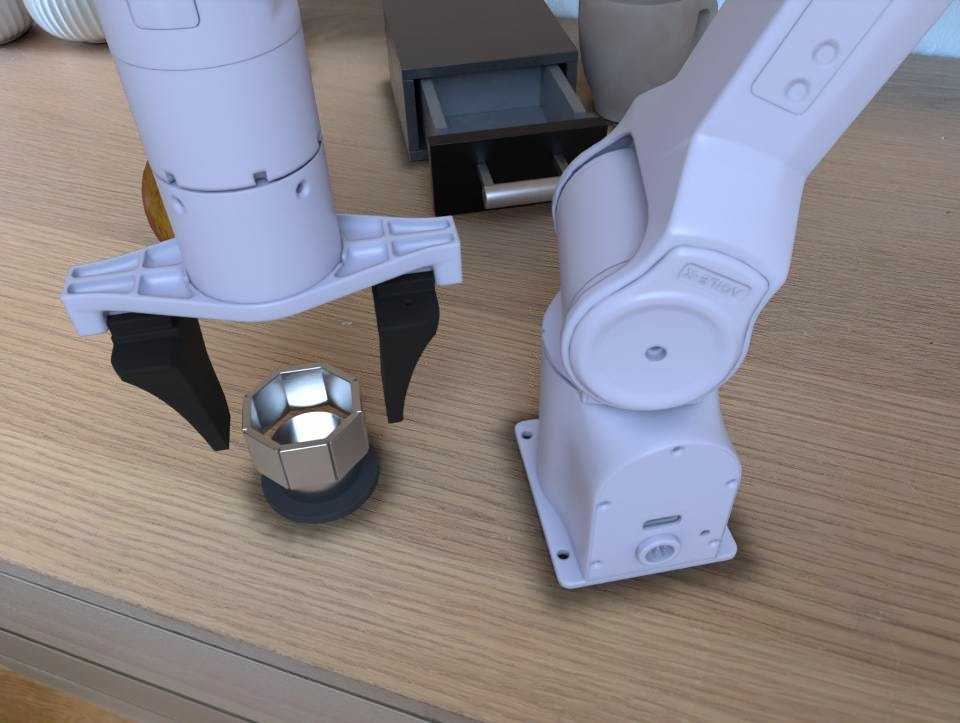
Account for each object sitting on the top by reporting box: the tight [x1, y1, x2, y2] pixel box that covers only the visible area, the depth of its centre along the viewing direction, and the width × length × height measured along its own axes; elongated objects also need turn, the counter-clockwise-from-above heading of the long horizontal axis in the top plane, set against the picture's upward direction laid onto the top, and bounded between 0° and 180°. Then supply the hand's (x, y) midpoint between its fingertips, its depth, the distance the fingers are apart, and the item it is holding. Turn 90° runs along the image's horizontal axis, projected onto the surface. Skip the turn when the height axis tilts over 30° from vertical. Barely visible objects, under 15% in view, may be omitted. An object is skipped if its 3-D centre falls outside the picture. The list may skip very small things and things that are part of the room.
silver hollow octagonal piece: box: [241, 361, 370, 503], centre depth 38 cm, size 5×5×5 cm
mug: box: [577, 0, 719, 124], centre depth 63 cm, size 12×9×10 cm
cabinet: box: [381, 0, 579, 162], centre depth 64 cm, size 14×13×7 cm
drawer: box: [417, 64, 609, 217], centre depth 56 cm, size 17×11×5 cm
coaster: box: [260, 441, 380, 525], centre depth 39 cm, size 6×6×1 cm
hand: (308, 420), depth 37 cm, fingers open, 7 cm apart
